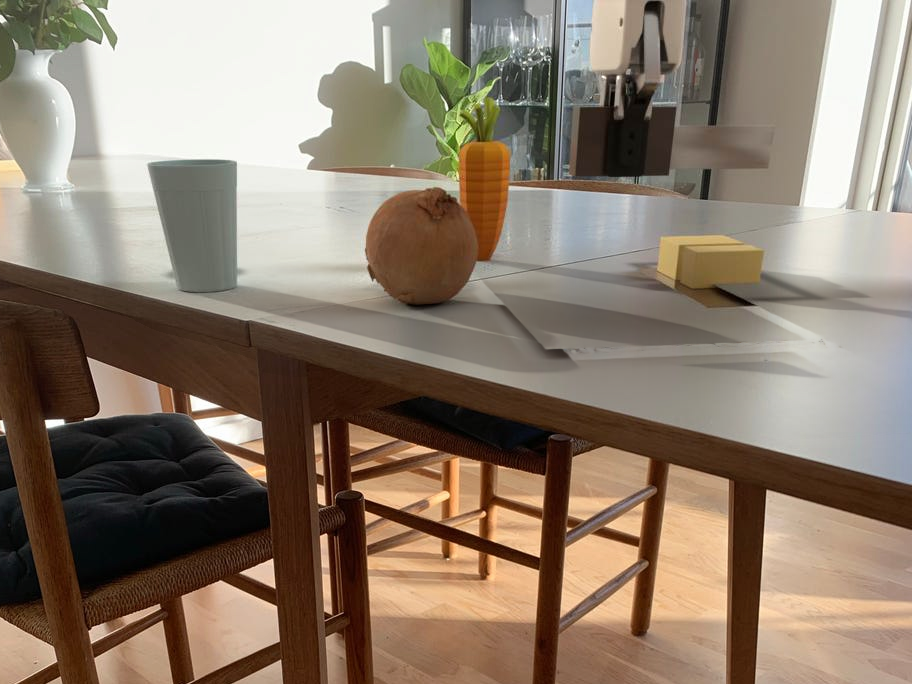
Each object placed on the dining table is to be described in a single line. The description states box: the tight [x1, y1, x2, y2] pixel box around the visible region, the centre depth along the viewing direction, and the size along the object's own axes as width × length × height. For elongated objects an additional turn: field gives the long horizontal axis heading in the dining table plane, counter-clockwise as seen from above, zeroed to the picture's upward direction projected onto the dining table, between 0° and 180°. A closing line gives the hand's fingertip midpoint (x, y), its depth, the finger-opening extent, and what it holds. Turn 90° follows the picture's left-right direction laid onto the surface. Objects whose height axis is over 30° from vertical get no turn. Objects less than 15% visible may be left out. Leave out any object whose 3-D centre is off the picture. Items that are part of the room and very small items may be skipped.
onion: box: [364, 186, 478, 306], centre depth 79 cm, size 10×9×10 cm
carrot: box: [458, 96, 511, 262], centre depth 92 cm, size 5×5×15 cm
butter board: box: [636, 267, 758, 308], centre depth 83 cm, size 9×18×1 cm, turn 7°
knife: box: [568, 105, 776, 178], centre depth 78 cm, size 17×2×5 cm, turn 97°
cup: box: [146, 158, 238, 293], centre depth 85 cm, size 8×8×10 cm
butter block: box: [657, 234, 745, 280], centre depth 86 cm, size 6×5×3 cm
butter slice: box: [680, 244, 765, 289], centre depth 82 cm, size 6×3×3 cm, turn 97°
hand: (619, 173), depth 79 cm, fingers closed on knife, 2 cm apart
